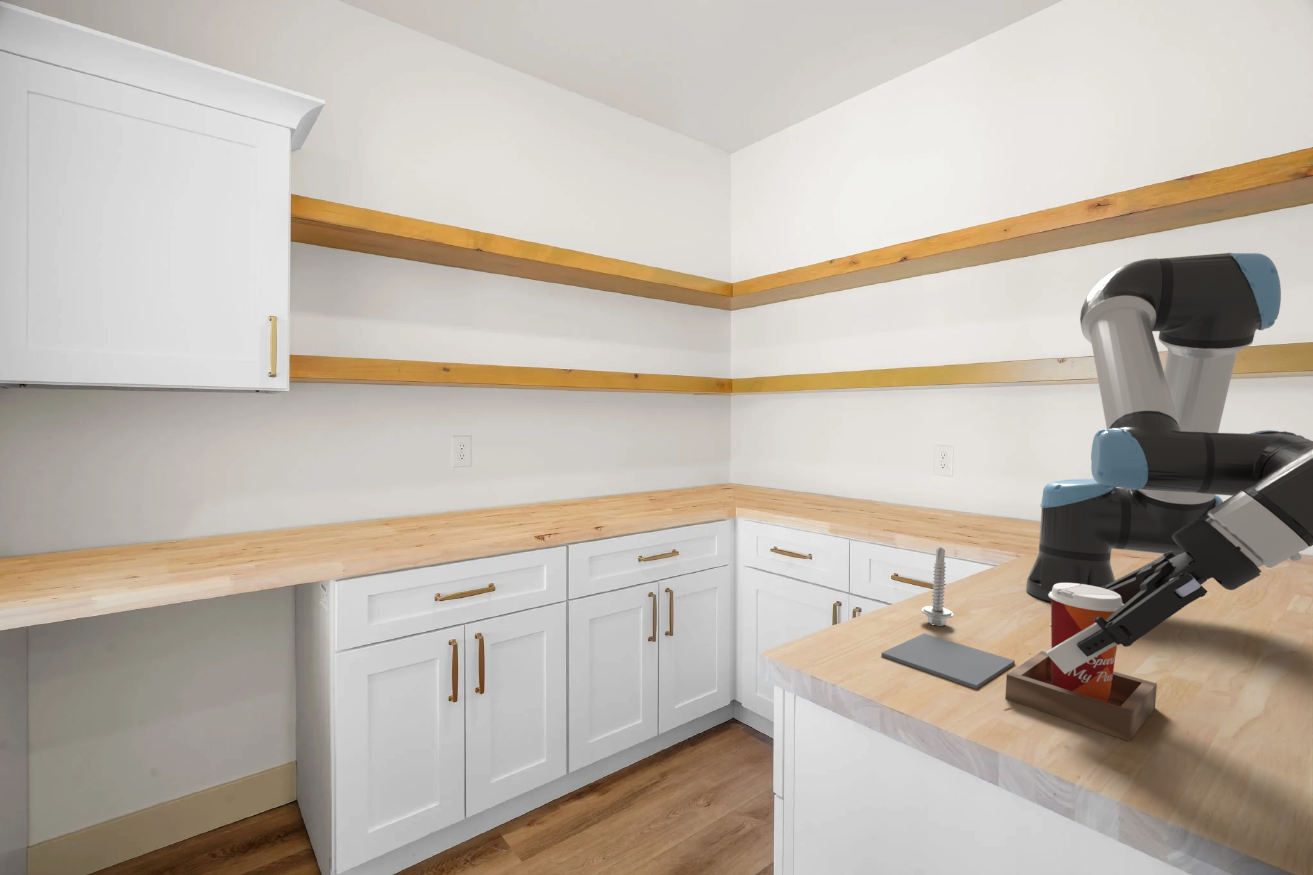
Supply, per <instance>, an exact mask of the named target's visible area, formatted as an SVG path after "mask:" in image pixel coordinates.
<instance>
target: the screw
mask: <svg viewBox="0 0 1313 875" xmlns="http://www.w3.org/2000/svg"><path fill="white" fill-rule="evenodd" d="M945 554H946V550H945V548H943V547H942V546H940V547H938V548H936V552H935V563H934V567H933V581H932V583H933V584H932V586H933V587H932V588H931V589H932V590H933V591H932V593H933V594H932V595H931V596H932V598H931V599H932V601H931V603H932V605H926V606H923V607H922V608H921V613H922V614H923V615H925V616H926V617H927V621H928V622H929V623H930V625H931V624H934V625H937V626H936V627H939V626H942V627H944V626H943V625H945V624H946V625H947V620H948V619H952V618H953V617H954V613H953V612H952V611H951V610H950V609H948V608H946V607H945V606H944V603H945V601H944V600H945V590H946V587H945V586H946V584H945V583H946V580H945V579H946V573H945V572H946V568H947V567H946V562H945V557H946V555H945ZM928 622H927V623H928ZM929 623H928V624H929ZM946 625H945V626H946Z"/></svg>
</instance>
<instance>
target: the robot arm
mask: <svg viewBox="0 0 1313 875" xmlns="http://www.w3.org/2000/svg"><path fill="white" fill-rule="evenodd" d="M1280 280H1281V279H1280V276H1279V272H1278V270H1277V267H1276V265H1275V263H1274V261H1273V260H1272V259H1271V258H1270V257H1269V256H1267V255H1265V254H1263V253H1257V252H1252V253H1251V252H1249V253H1248V252H1247V253H1243V252H1241V253H1240V252H1239V253H1237V252H1234V253H1233V252H1226V253H1213V254H1202V255H1201V254H1199V255H1189V256H1188V255H1187V256H1177V257H1175V256H1174V257H1167V258H1166V257H1165V258H1158V257H1154V258H1146V259H1141V260H1137V261H1134V262H1130V263H1127V264H1125V265H1123V266H1121V267H1118V268H1117V269H1115V270H1113V271H1111V273H1109V274H1107V275H1105V277H1103V278H1102V279H1101V280H1099V281H1098V283H1096V284H1095V286H1094V287H1093V288H1092V289H1091V291H1090V292H1089V293H1088V294H1087V296H1086V298H1085V299H1084V302H1083V303H1082V307H1081V309H1080V316H1079V318H1080V319H1079V322H1080V328H1081V332H1082V335H1083V337H1084V338H1085V339H1086V340H1087V341H1088V342H1089V343H1090V344H1091V346H1092V348H1091V349H1092V353H1093V358H1094V359H1093V360H1094V364H1095V369H1096V375H1097V382H1098V387H1099V392H1100V398H1101V404H1102V409H1103V414H1104V419H1105V427H1106V428H1102V429H1098V430H1097V432H1096V433H1095V434H1094V437H1093V440H1092V443H1091V444H1092V445H1091V452H1090V461H1091V466H1090V467H1091V468H1090V469H1091V475H1092V477H1093V478H1080V479H1079V478H1076V479H1074V478H1073V479H1062V480H1055V481H1050V482H1049V483H1046V485H1045V486H1044V487H1043V489H1042V496H1041V497H1042V498H1041V502H1040V505H1039V506H1040V508H1041V514H1040V515H1041V516H1040V525H1039V527H1040V529H1039V540H1038V541H1039V542H1038V554H1037V556H1036V559H1035V560H1034V563H1033V565H1032V568H1031V570H1030V572H1029V574H1028V576H1027V579H1026V586H1025V588H1026V589H1025V591H1026V592H1027V593H1028V594H1029V595H1031V596H1033V597H1036V598H1038V599H1040V600H1044V601H1048V602H1050V603H1051V598H1050V597H1049V596H1048V594H1049V593H1050V592H1051V591H1052V588H1053V586H1054V585H1055V584H1057V583H1077V584H1085V585H1091V586H1096V587H1100V588H1104V589H1108V590H1111V591H1114V592H1116V593H1118V594H1119V595H1120V596H1121V598H1122V603H1123V604H1124V605H1123V606H1122V607H1120V608H1119V609H1118V610H1117V611H1116V612H1114V613H1113V614H1112V615H1111V616H1109V617H1108V618H1107V619H1106V620H1104V619H1103V618H1102V617H1097V618H1095V619H1094V621H1095V622H1096V623H1094V624H1092V625H1091V626H1089V627H1087V628H1086V629H1084V630H1082V631H1081V632H1079V633H1077V634H1076V635H1074V636H1072V637H1070V638H1069V639H1067V640H1065V641H1064V642H1062V643H1060V644H1059V645H1057V646H1055V647H1054V648H1052V649H1051V648H1050V649H1048V650H1047V651H1045V652H1046V654H1047V655H1048V656H1049V657H1050V658H1051V659H1052V661H1053V662H1054V663H1055V664H1056V665H1057V666H1058V667H1059V668H1060V669H1061V670H1062V672H1063V673H1064V674H1066V673H1068V672H1069V671H1071V670H1073V669H1075V668H1077V667H1078V666H1080V665H1082V664H1084V663H1085V662H1087V661H1089V660H1091V659H1092V658H1094V657H1096V656H1098V655H1100V654H1101V653H1103V652H1105V651H1107V650H1108V649H1110V648H1112V647H1114V646H1115V645H1117V646H1119V645H1122V646H1123V647H1125V648H1126V647H1130V646H1132V645H1133V643H1135V642H1136V641H1138V640H1140V638H1142V637H1143V636H1145V635H1147V634H1148V633H1149V632H1150V631H1152V630H1153V629H1155V628H1156V627H1157V626H1159V625H1160V624H1162V623H1163V622H1165V621H1166V620H1168V619H1169V618H1171V617H1172V616H1173V615H1176V613H1178V612H1179V611H1181V610H1182V609H1183V608H1185V607H1186V606H1187V605H1189V604H1191V603H1192V602H1194V601H1196V600H1198V599H1199V598H1202V597H1205V596H1206V594H1207V593H1208V590H1207V589H1206V588H1205V587H1203V584H1204V583H1206V582H1207V581H1208V580H1210V579H1213V580H1215V581H1216V582H1217V583H1218V585H1220V586H1221V587H1223V588H1224V589H1226V590H1228V591H1234V590H1236V589H1238V588H1240V587H1242V586H1243V585H1245V584H1248V583H1249V582H1251V581H1252V580H1255V579H1256V578H1258V577H1260V576H1261V573H1262V570H1261V569H1260V567H1262V566H1265V567H1266V568H1271V569H1272V568H1274V567H1276V566H1278V565H1280V564H1282V563H1283V562H1285V561H1287V560H1288V559H1289V560H1290V561H1293V562H1297V561H1300V560H1302V554H1301V553H1300V552H1303V551H1305V550H1307V549H1308V548H1311V547H1313V440H1311V439H1310V438H1306V437H1304V436H1303V435H1300V434H1299V435H1298V434H1296V433H1293V432H1291V431H1286V430H1285V431H1278V430H1273V429H1271V430H1269V429H1267V430H1258V431H1255V432H1250V433H1241V432H1240V433H1235V432H1233V433H1232V432H1219V431H1220V425H1221V421H1222V417H1223V413H1224V409H1225V406H1226V400H1227V396H1228V392H1229V387H1230V382H1231V379H1232V374H1233V371H1234V370H1233V369H1234V367H1235V366H1234V365H1235V362H1236V358H1237V353H1238V352H1240V351H1242V350H1244V349H1245V348H1248V347H1249V346H1252V344H1253V342H1254V338H1255V334H1256V332H1257V330H1258V331H1264V330H1266V329H1270V328H1271V327H1273V326H1274V325H1275V322H1276V320H1277V319H1278V316H1279V314H1280V309H1281V304H1282V303H1281V302H1282V300H1281V299H1282V288H1281V281H1280ZM1153 332H1159V334H1158V341H1159V342H1160V343H1161V344H1162V345H1163V346H1164V347H1165V348H1167V353H1166V354H1167V355H1166V359H1165V364H1164V368H1163V364H1162V360H1161V357H1160V354H1159V351H1158V346H1157V344H1156V341H1155V336H1154V334H1153ZM1220 496H1230V497H1229V498H1227V499H1225V500H1224V501H1223V500H1222V498H1221V497H1220ZM1112 549H1114V550H1124V551H1133V552H1134V551H1135V552H1141V553H1143V552H1144V553H1153V554H1161V556H1159V557H1157V558H1156V559H1154V560H1153V561H1151V562H1149V563H1146V564H1145V565H1143V566H1141V567H1139V568H1137V569H1136V570H1135V569H1134V570H1133V571H1131V572H1129V573H1128V574H1126V575H1123V576H1122V577H1121V576H1120V577H1119V578H1118V579H1115V575H1114V572H1113V569H1112V564H1111V557H1112V554H1111V553H1112ZM1049 627H1051V622H1050V623H1049Z"/></svg>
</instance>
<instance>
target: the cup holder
mask: <svg viewBox="0 0 1313 875" xmlns="http://www.w3.org/2000/svg"><path fill="white" fill-rule="evenodd" d="M1046 652H1047V651H1043V650H1041V651H1039V652H1038V653H1037V654H1035V655H1033V656H1031V657H1030V658H1029V659H1028V660H1026V661H1025V662H1023V663H1021V664H1020V665H1018V666H1017V667H1016V668H1014V669H1012V670H1011V671H1009V673H1007V674H1006V680H1005V696H1004V697H1005V699H1006V700H1009V701H1012V702H1015V703H1018V704H1020V705H1024V706H1027V707H1029V708H1032V709H1035V710H1039V711H1041V712H1044V713H1047V714H1050V715H1052V716H1055V717H1059V718H1060V719H1064V720H1067V721H1070V722H1072V723H1076V724H1078V725H1081V726H1084V727H1087V728H1090V729H1092V730H1096V731H1099V732H1102V733H1104V734H1107V735H1110V736H1113V737H1116V738H1119V739H1122V740H1125V741H1128V742H1130V741H1131V740H1132V738H1133V737H1134V736H1135V735H1136V733H1137V732H1138V731H1139V729H1140V728H1141V727H1142V725H1144V722H1146V720H1147V719H1148V718H1149V717H1150V715H1151V714H1152V712H1154V710H1155V709H1156V701H1157V700H1156V698H1157V687H1158V683H1157V682H1153V681H1150V680H1149V681H1148V680H1145V679H1142V678H1138V677H1135V676H1133V675H1132V676H1131V675H1128V674H1124V673H1121V672H1118V671H1114V670H1113V677H1112V684H1111V691H1110V697H1109V699H1113V700H1116V701H1117V700H1118V701H1121V702H1123V703H1122V704H1121V705H1120V706H1119V705H1116V704H1113V703H1110V702H1109V703H1107V702H1104V701H1101V700H1098V699H1095V698H1091V697H1088V696H1085V695H1082V694H1079V693H1076V692H1072V691H1069V690H1066V689H1063V688H1060V687H1057V686H1053V685H1052V684H1050V683H1047V682H1044V681H1045V680H1046V679H1050V680H1052V659H1051V658H1050V657H1049V656H1048V655H1047V654H1046Z"/></svg>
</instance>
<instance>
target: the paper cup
mask: <svg viewBox="0 0 1313 875" xmlns="http://www.w3.org/2000/svg"><path fill="white" fill-rule="evenodd" d="M1048 596H1049V597H1050V598H1051V602H1050V605H1051V607H1050V609H1051V610H1050V611H1051V613H1050V614H1051V616H1050V618H1051V619H1050V620H1051V621H1050V623H1051V626H1050V628H1051V632H1050V633H1051V639H1050V640H1051V643H1050V644H1051V646H1050V647H1051V648H1050V649H1052V648H1054V647H1055V646H1057V645H1059V644H1060V643H1062V642H1064V641H1065V640H1067V639H1069V638H1070V637H1072V636H1074V635H1076V634H1077V633H1079V632H1081V631H1082V630H1084V629H1086V628H1087V627H1089V626H1091V625H1092V624H1094V623H1096V622H1095V621H1094V619H1095V618H1097V617H1102V618H1103V619H1104V620H1106V619H1107V618H1108V617H1109V616H1111V615H1112V614H1113V613H1114V612H1116V611H1117V610H1118V609H1119V608H1120V607H1122V606H1123V605H1124V604H1123V603H1122V598H1121V596H1120V595H1119V594H1118V593H1116V592H1114V591H1111V590H1108V589H1104V588H1100V587H1096V586H1091V585H1085V584H1077V583H1057V584H1055V585H1054V586H1053V588H1052V591H1051V592H1050V593H1049V594H1048ZM1117 648H1118V645H1115V646H1114V647H1112V648H1110V649H1108V650H1107V651H1105V652H1103V653H1101V654H1100V655H1098V656H1096V657H1094V658H1092V659H1091V660H1089V661H1087V662H1085V663H1084V664H1082V665H1080V666H1078V667H1077V668H1075V669H1073V670H1071V671H1069V672H1068V673H1066V674H1064V673H1063V672H1062V670H1061V669H1060V668H1059V667H1058V666H1057V665H1056V664H1055V663H1054V662H1053V661H1052V679H1051V685H1053V686H1057V687H1060V688H1063V689H1066V690H1069V691H1072V692H1076V693H1079V694H1082V695H1085V696H1088V697H1091V698H1095V699H1098V700H1101V701H1104V702H1107V703H1110V691H1111V684H1112V677H1113V671H1114V670H1115V661H1116V655H1117Z"/></svg>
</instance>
